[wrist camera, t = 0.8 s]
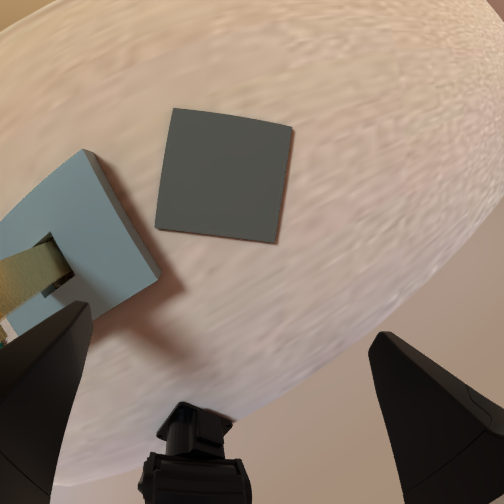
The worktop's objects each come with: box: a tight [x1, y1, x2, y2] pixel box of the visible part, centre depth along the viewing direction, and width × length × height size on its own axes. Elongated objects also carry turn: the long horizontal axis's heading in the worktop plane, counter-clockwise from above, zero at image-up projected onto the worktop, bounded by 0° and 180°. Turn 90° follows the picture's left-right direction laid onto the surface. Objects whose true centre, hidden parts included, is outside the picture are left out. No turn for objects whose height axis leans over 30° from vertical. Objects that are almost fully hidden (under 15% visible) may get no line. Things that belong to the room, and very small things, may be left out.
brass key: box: [0, 240, 72, 343], centre depth 16 cm, size 5×3×14 cm, turn 29°
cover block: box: [0, 149, 162, 336], centre depth 21 cm, size 12×16×2 cm
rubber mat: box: [155, 108, 292, 243], centre depth 24 cm, size 10×10×1 cm
